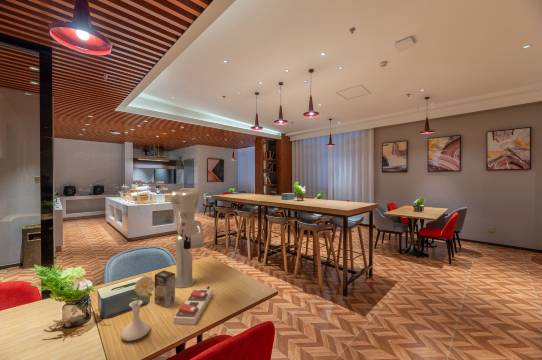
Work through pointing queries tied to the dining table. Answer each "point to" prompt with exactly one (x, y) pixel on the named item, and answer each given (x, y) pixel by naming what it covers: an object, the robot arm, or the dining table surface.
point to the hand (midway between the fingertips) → (187, 248)
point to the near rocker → (187, 309)
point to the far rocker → (198, 294)
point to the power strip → (200, 304)
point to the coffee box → (164, 288)
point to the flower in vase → (137, 325)
